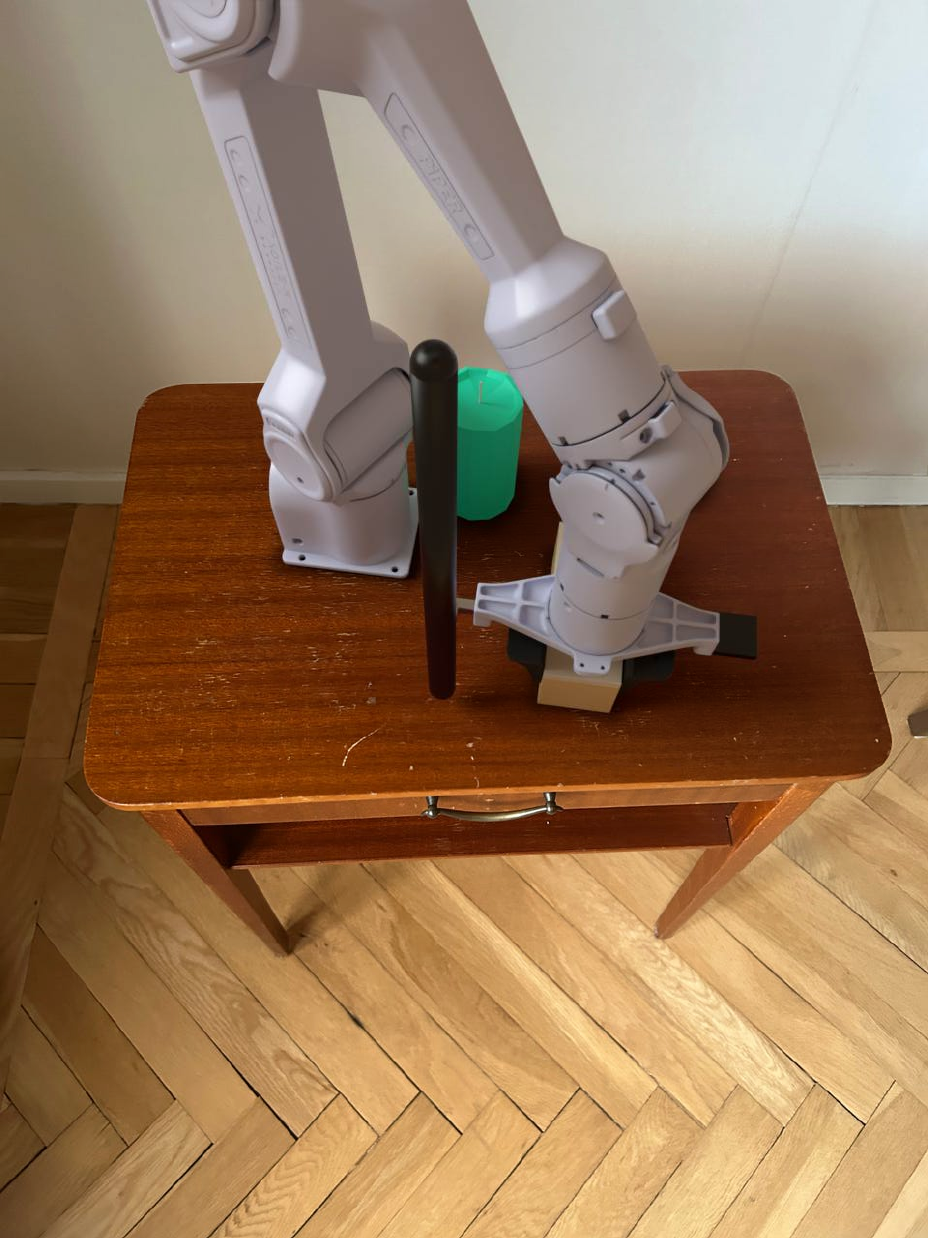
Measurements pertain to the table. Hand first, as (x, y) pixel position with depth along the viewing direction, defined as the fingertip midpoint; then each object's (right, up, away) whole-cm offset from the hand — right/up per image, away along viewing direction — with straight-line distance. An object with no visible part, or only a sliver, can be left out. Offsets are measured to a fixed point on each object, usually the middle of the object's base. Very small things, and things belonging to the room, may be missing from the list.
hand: (577, 674), depth 60 cm
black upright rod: (+1, 0, +1) cm, 1 cm away
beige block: (0, -1, +1) cm, 1 cm away
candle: (-7, +14, +9) cm, 18 cm away
